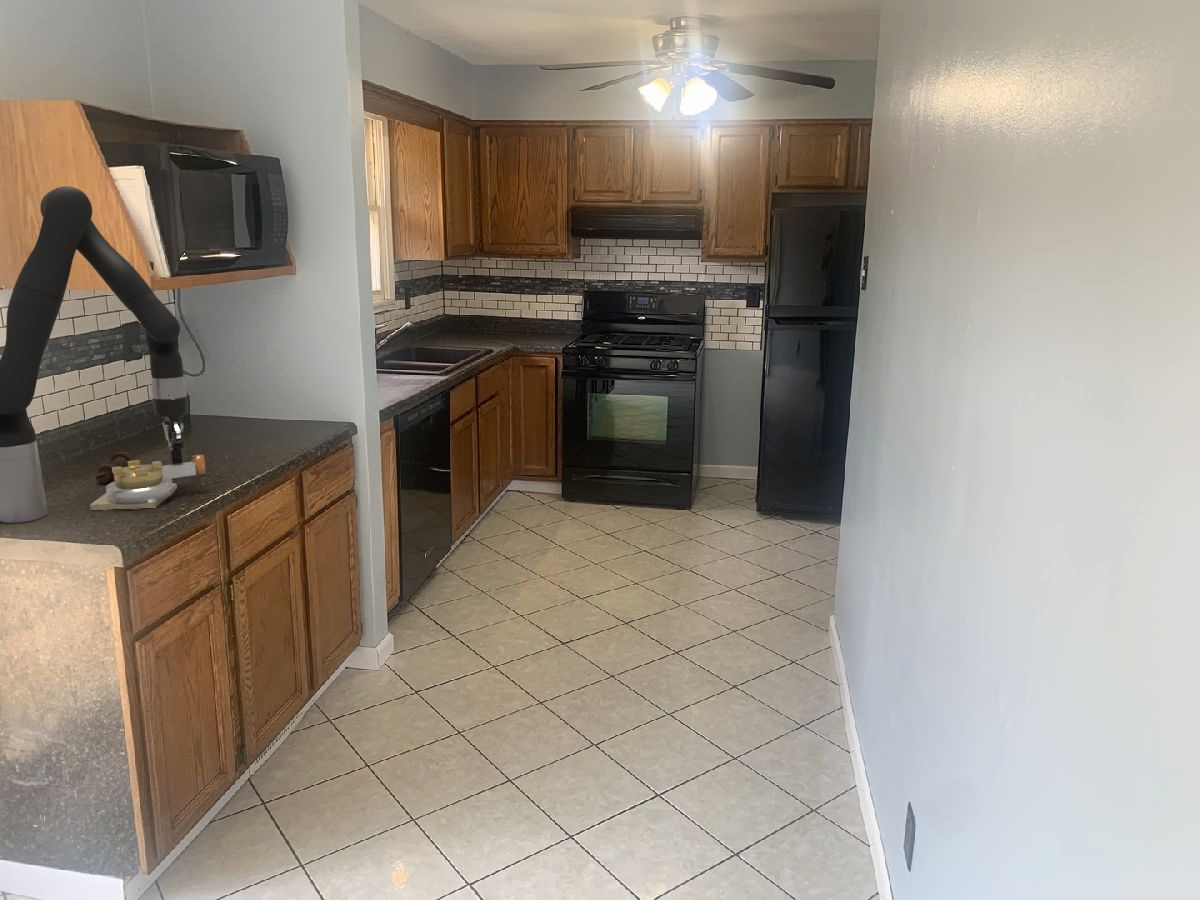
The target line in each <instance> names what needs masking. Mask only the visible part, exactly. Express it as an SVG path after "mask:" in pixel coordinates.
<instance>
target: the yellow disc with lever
mask: <svg viewBox="0 0 1200 900" xmlns="http://www.w3.org/2000/svg"><path fill="white" fill-rule="evenodd" d="M191 457H192V461H188V462H182V463H179V464H172V463H171V464H167V465H166V464H165V465H163V463H162V461H160V460H155V461H151V462H150V464H141V461H140V459H135V460H134V459H133V460H134V461H127V462H128V467H124V468H122V467H121V466H118V467H112V472H113V473H114V479H115V480H114V481H115V486H116V487H119V488H142V487H148V486H152V485H156V484H158V483H160V482H162V480H164V479H176V478H181V477H182V478H184V477H190V476H200V475H202V476H203V475H205V474H206V473H207V472H206V463H205V462H206V461H205V455H204V454H194V455H191Z"/></svg>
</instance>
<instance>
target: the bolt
mask: <svg viewBox="0 0 1200 900" xmlns="http://www.w3.org/2000/svg"><path fill="white" fill-rule="evenodd" d="M127 461H134V459H133V457H132V455H131V454H130V453H129V452H126V451H118V452H114V453H113V455H112V457H111V459H110V461H109V463H103V464H102V465H100V466H99V469H98V470H97V473H96V474H95V480H96V481H97V483H100V484H106V483H108V482H113V481H112V480H114V481H115V479H114V473H113V472H112V467H118V466H121V467H122V468H124V467H128V462H127Z"/></svg>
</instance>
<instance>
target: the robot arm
mask: <svg viewBox="0 0 1200 900" xmlns="http://www.w3.org/2000/svg"><path fill="white" fill-rule="evenodd" d="M39 208H40V210H39V211H40V214H41V216H42V221H41V226H40V230H39V233H38V237H37V241H36V243H35V245H34V247H33V249H32V251H31V252H30V254H29V255H28V257H27V259H26V261H25V262H24V265H23V266H22V269H21V270H20V272H19V274H18V276H17V279H16V281H15V284H14V286H13V289H12V293H11V295H10V298H9V301H8V305H7V312H6V322H5V323H6V324H5V325H6V329H5V331H6V333H5V334H6V335H5V344H4V349H3V351H2V355H1V357H0V522H1V523H5V524H17V523H26V522H31V521H35V520H38V519H41V518H43V517H45V516H47V515H48V507H47V506H48V505H47V500H46V494H45V488H44V481H43V475H42V468H41V461H40V455H39V449H38V443H37V436H36V430H35V427H34V426H33V424H32V423H31V421H30V417H29V415H28V412H27V409H28V407H29V406H30V404H31V403H32V401H33V399H34V396H35V392H36V387H37V382H38V377H39V372H40V368H41V364H42V359H43V356H44V353H45V351H46V348H47V346H48V342H49V339H50V338H51V337H50V336H51V334H52V331H53V329H54V326H55V323H56V321H57V319H58V316H59V313H60V309H61V307H62V304H63V300H64V298H65V294H66V291H67V287H68V282H69V279H70V275H71V271H72V266H73V260H74V257H75V254H76V251H77V252H79V254H81V255H82V256H83V258H84V259H85V260H86V261H87V262H88V263H89V264H90V265H91V267H92V268H93V269H94V270H95V271H96V273H97V274H98V275H99V276H100V278H102V280H103V281H104V282H105V284H106V285H107V286H108V288H109V289H110V290H111V292H112V293H114V295H115V296H116V297H117V298H118V299H119V301H120V302H121V303H122V304H123V305H124V307H126V308H127V310H129V311H130V312H131V313H132V314H133V315H134V316H135V317H136V319H137V320H138V322H140V323H139V324H141V326H142V327H143V328H144V332H145V337H146V342H147V343H146V344H147V348H148V353H149V364H150V365H149V366H150V374H151V395H152V404H153V411H154V415H155V416H156V417H162V418H164V421H162V427H163V429H164V430H163V431H164V435H165V436H164V437H165V440H166V445H167V446H168V449H169V451H170V459H171V465H172V464H179V463H183V456H182V455H183V453H182V449H184V442H185V441H184V440H185V431H184V422H183V421H181V419H180V416H183V415H187V414H188V413H189V402H188V394H187V385H186V380H185V375H184V366H183V359H182V355H181V354H180V351H179V341H178V337H179V335H180V333H181V325H180V323H179V321H178V319H177V318H176V316H175V315H174V314H173V313H172V312H171V311H170V310H169V308H167V306H166V305H165V304H164V303H163V302H162V301H161V300H160V299H159V298H158V297H157V296H156V294H155V293H154V291H153V289H152V288H151V287H150V285H149V284H148V283H147V282H146V281H145V279H144V278H143V276H142V275H141V274H140V273H139V272H138V271H137V270H136V269H135V267H134V266H133V265H132V264H131V263H130V262H129V260H127V259H126V258H124V257H123V255H122V254H120V253H119V252H118V251H117V250H116V249H115V247H113V246H112V245H111V244H110V242H108V241H107V239H106V238H105V237H104V236H103V234H101V232H100V231H99V229H98V228H97V226H96V225H95V223H94V221H93V220H92V219H93V218H92V216H93V206H92V203H91V200H90V198H89V197H88V196H87V194H86V193H85V192H84V191H82V190H81V189H79V188H77V187H73V186H69V185H68V186H59V187H56V188H53V189H52V190H50V191H49V192H47V193H46V194H45V195H44V196H43V197H42V199H41V202H40V207H39Z"/></svg>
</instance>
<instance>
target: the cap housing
mask: <svg viewBox="0 0 1200 900" xmlns="http://www.w3.org/2000/svg"><path fill="white" fill-rule="evenodd" d="M172 479H173V478H171V479H164V480H162V482H160V483H158V484H156V485H152V486H148V487H142V488H119V487H116V486H115V480H114V481H111V482H110V483H108V484H107V485H106V486H105V491H106V492H105V493H104V494H103V495H101V496H100V497H98V498H97V499H96V500H94V501H93V502H92V503H90V504H89V506H90V507H89V508H90V511H91V510H103V511H111V510H110V509H132V510H143V509H142V508H155V509H157V508H158V507H159V506H160V505H161V504H162V503H163V502H164V501H166V500H167V499H168V498H169V497H171V496H172V495H173V494H174V493H175V492H176V491H177V490H178V485H177V483H175V482H174V483H173V480H172ZM176 489H177V490H176ZM175 490H176V491H175ZM167 497H168V498H167ZM166 498H167V499H166ZM165 499H166V500H165ZM161 502H162V503H161ZM160 503H161V504H160ZM159 504H160V505H159ZM158 505H159V506H158ZM157 506H158V507H157ZM156 507H157V508H156ZM139 508H141V509H139ZM107 509H109V510H107Z"/></svg>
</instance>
